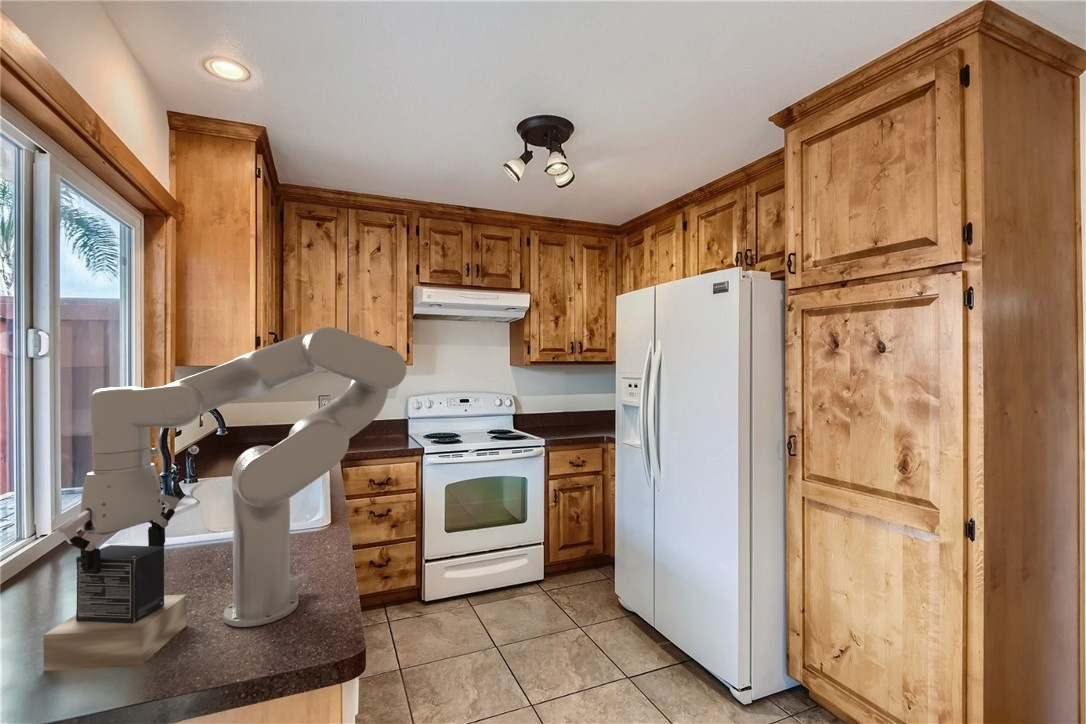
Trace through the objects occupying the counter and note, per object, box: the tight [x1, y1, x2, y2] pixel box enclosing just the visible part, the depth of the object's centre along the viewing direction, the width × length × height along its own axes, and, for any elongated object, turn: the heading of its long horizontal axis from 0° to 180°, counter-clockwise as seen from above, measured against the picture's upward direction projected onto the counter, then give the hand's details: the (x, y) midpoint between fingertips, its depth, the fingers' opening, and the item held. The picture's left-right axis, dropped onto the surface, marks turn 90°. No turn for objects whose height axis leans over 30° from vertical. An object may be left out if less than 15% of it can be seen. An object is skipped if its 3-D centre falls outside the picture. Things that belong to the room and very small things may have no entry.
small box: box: [75, 544, 165, 623], centre depth 84 cm, size 11×6×10 cm, turn 86°
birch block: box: [43, 594, 187, 672], centre depth 85 cm, size 12×14×6 cm
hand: (126, 560), depth 85 cm, fingers open, 9 cm apart
